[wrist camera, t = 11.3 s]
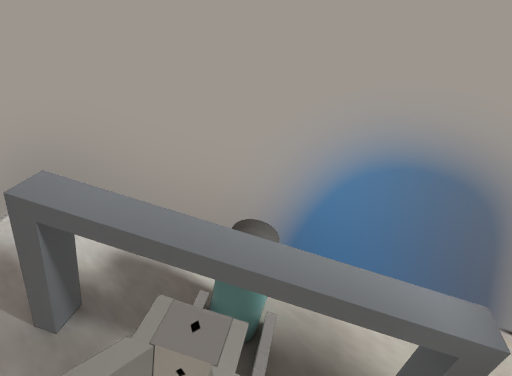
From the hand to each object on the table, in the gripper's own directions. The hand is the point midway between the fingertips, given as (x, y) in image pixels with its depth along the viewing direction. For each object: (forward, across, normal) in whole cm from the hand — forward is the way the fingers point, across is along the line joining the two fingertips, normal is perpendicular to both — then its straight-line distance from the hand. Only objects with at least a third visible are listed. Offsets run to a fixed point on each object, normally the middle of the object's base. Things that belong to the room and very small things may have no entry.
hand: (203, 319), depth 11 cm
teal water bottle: (+19, 0, +25) cm, 32 cm away
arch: (+13, 0, +25) cm, 28 cm away
